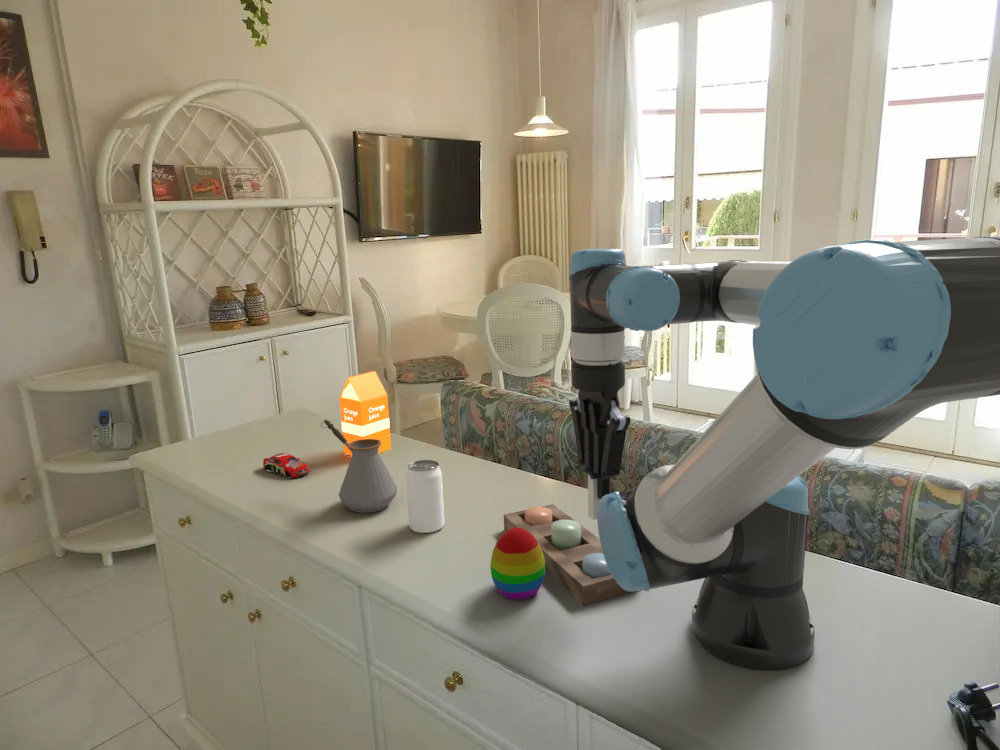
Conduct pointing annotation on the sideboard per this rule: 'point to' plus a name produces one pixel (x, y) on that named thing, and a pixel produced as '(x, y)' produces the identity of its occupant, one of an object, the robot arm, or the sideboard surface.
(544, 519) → the terracotta button
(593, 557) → the slate blue button
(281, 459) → the race car
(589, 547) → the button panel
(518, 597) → the decorative egg
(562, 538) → the sage button
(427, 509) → the can
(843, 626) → the sideboard surface
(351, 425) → the orange juice
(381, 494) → the coffee pot
